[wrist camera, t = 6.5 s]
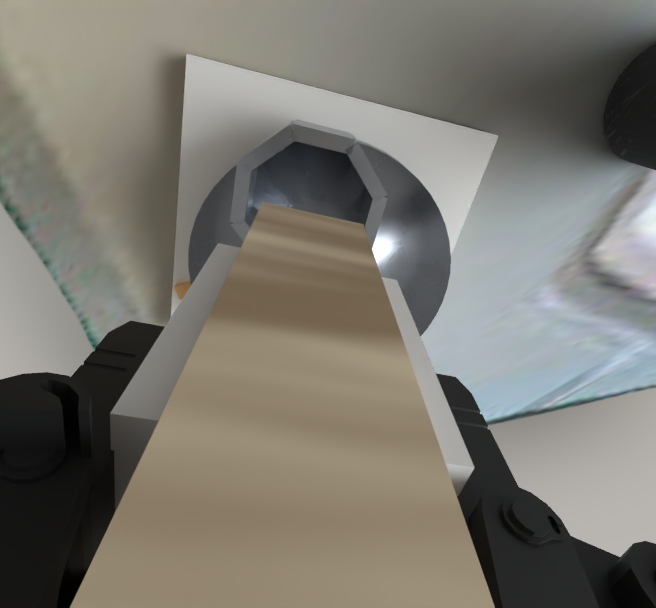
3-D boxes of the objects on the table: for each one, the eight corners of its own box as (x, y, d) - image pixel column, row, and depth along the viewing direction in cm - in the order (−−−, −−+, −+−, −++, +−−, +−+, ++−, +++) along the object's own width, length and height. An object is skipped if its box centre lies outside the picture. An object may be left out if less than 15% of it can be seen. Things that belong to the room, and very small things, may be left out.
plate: (196, 55, 23) (183, 53, 21) (486, 132, 26) (502, 136, 23) (178, 320, 32) (167, 337, 29) (398, 360, 34) (404, 379, 32)
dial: (209, 94, 22) (183, 96, 18) (483, 163, 24) (519, 180, 20) (188, 342, 29) (166, 385, 25) (398, 378, 32) (411, 424, 27)
